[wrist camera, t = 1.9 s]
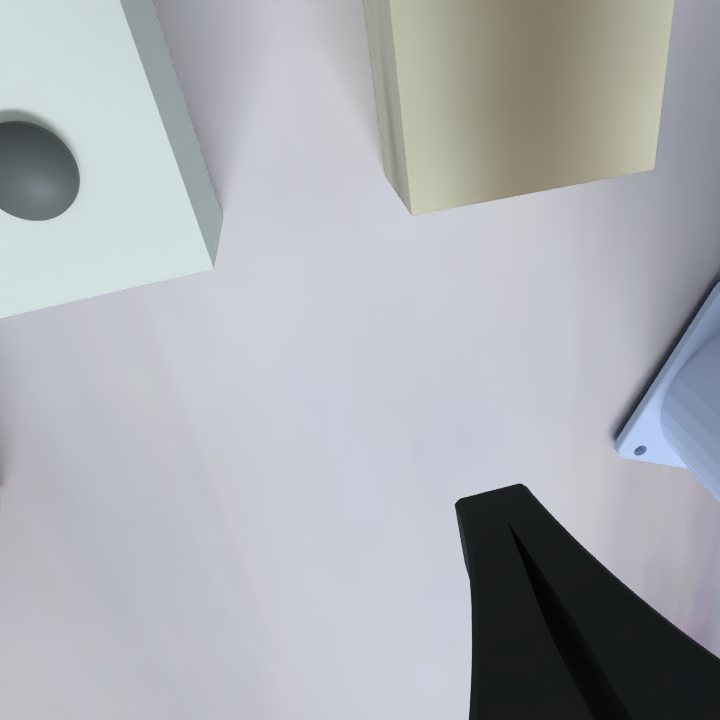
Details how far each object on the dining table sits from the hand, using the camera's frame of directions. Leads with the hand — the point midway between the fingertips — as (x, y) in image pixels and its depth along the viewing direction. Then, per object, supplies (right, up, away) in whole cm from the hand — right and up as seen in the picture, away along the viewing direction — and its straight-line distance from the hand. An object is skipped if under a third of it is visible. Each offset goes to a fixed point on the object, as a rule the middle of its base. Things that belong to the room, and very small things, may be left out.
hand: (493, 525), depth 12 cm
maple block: (+1, +12, +4) cm, 13 cm away
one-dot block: (-10, +9, +4) cm, 14 cm away
